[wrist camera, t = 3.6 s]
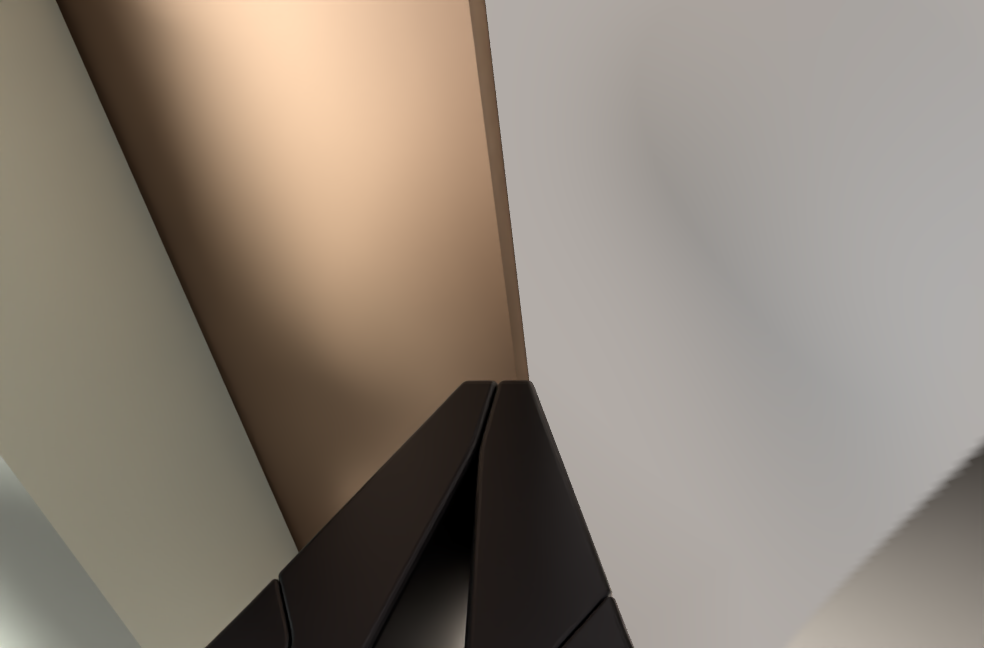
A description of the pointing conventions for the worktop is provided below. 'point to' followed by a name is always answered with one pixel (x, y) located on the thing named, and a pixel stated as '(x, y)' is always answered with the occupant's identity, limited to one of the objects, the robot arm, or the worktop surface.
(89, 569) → the socket block
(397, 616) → the robot arm
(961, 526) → the worktop surface
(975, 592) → the worktop surface
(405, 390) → the rail base
